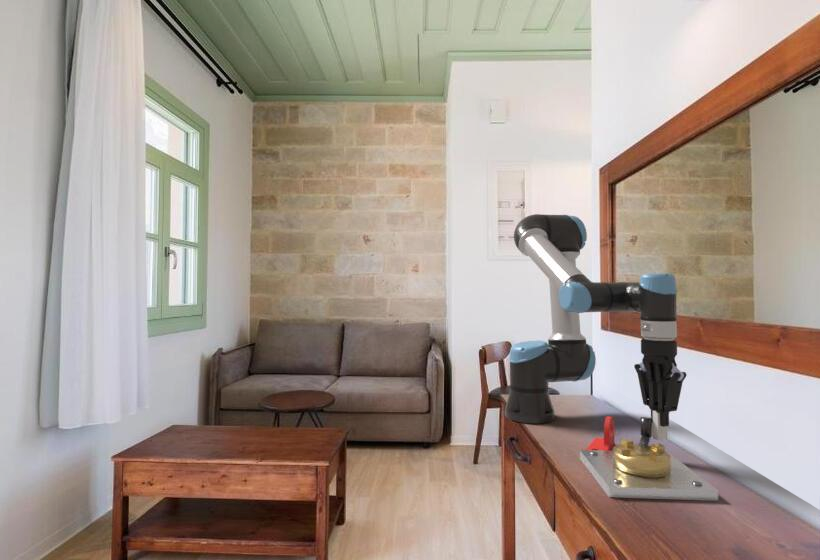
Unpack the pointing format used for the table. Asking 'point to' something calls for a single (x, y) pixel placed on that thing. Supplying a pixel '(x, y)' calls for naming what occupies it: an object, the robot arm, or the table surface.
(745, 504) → the table surface
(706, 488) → the flange plate
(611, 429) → the bracket
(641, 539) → the table surface
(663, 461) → the ball knob lever
